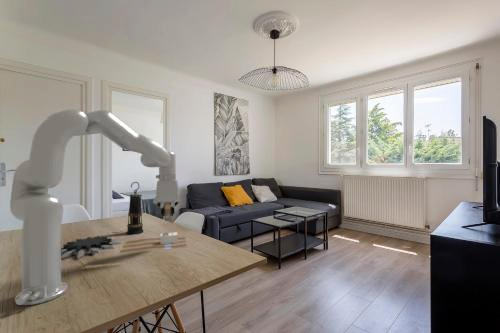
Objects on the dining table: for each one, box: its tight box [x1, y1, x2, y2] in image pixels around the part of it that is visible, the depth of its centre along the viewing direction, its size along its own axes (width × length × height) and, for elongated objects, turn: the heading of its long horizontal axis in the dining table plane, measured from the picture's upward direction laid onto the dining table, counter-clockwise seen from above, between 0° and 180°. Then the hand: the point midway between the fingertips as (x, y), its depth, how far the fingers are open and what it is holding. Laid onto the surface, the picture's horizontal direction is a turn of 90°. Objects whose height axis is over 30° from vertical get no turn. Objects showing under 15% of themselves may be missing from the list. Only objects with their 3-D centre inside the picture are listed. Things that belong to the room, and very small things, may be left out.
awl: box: [163, 202, 172, 222], centre depth 120 cm, size 3×3×8 cm
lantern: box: [126, 181, 144, 236], centre depth 149 cm, size 9×9×30 cm
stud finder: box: [159, 231, 178, 245], centre depth 127 cm, size 5×8×4 cm, turn 108°
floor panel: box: [118, 235, 187, 255], centre depth 125 cm, size 20×29×1 cm
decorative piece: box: [61, 235, 122, 261], centre depth 121 cm, size 30×4×30 cm
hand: (167, 215), depth 121 cm, fingers closed on awl, 3 cm apart
